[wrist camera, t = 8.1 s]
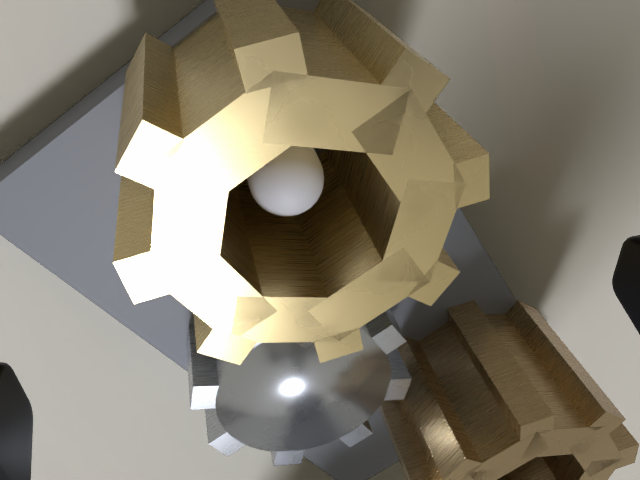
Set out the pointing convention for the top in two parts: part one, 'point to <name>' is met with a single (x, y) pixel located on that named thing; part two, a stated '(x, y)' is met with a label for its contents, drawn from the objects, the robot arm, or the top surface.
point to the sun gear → (297, 392)
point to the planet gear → (267, 143)
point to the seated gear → (502, 404)
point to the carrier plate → (166, 311)
